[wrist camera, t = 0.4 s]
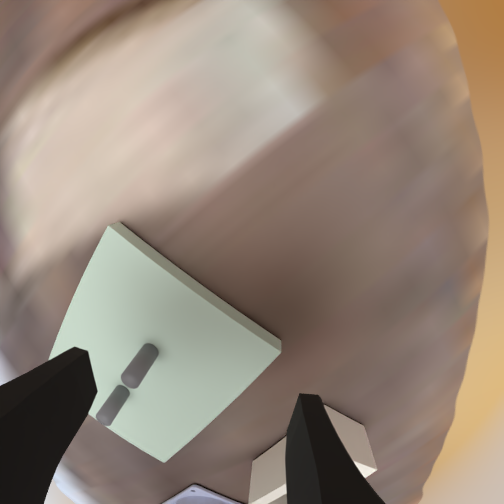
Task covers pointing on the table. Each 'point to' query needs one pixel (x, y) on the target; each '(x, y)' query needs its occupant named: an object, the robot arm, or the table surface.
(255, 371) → the pin plate
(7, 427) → the robot arm
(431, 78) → the table surface
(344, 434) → the beige hollow block
